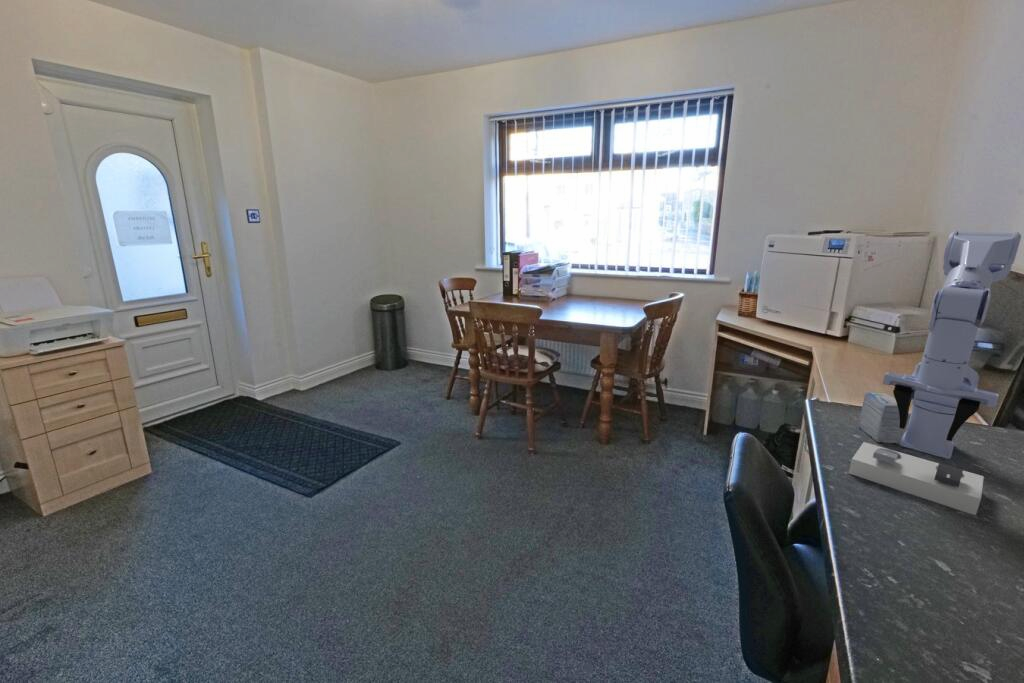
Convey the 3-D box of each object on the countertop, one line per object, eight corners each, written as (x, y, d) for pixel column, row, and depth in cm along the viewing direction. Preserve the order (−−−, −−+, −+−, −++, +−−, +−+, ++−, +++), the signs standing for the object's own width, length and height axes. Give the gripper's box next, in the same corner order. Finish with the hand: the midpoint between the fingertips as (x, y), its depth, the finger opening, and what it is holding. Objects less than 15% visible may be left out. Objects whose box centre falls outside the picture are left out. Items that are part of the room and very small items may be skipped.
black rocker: (937, 467, 80) (939, 462, 80) (961, 474, 78) (963, 469, 78) (934, 479, 78) (935, 474, 78) (958, 487, 76) (960, 481, 75)
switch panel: (860, 455, 93) (863, 441, 92) (978, 491, 81) (984, 475, 80) (848, 473, 86) (852, 457, 85) (975, 515, 74) (981, 497, 73)
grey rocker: (876, 453, 86) (877, 448, 86) (896, 459, 84) (898, 454, 84) (872, 457, 84) (874, 451, 83) (893, 463, 81) (895, 458, 81)
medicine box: (899, 445, 97) (909, 406, 95) (875, 442, 98) (884, 404, 96) (878, 429, 105) (887, 393, 103) (856, 427, 106) (865, 391, 104)
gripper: (886, 353, 80) (870, 425, 84) (1006, 374, 70) (981, 455, 74) (894, 346, 85) (877, 415, 89) (1007, 365, 75) (983, 441, 79)
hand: (925, 432), depth 82 cm, fingers open, 6 cm apart
